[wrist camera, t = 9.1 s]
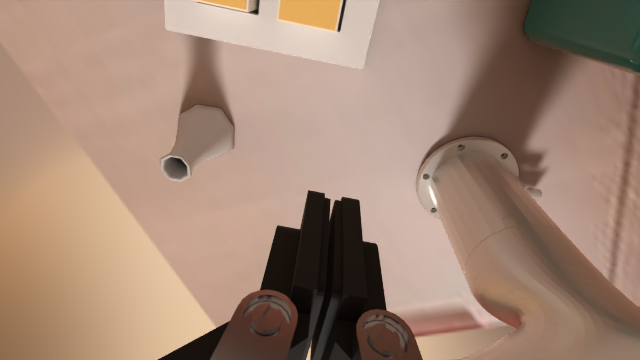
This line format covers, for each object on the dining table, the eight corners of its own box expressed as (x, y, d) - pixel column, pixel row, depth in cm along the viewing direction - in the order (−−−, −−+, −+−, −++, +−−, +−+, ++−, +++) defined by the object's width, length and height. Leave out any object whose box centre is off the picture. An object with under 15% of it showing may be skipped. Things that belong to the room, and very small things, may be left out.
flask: (170, 107, 42) (127, 140, 34) (226, 99, 41) (196, 130, 33) (190, 159, 46) (156, 201, 37) (242, 152, 45) (219, 194, 36)
